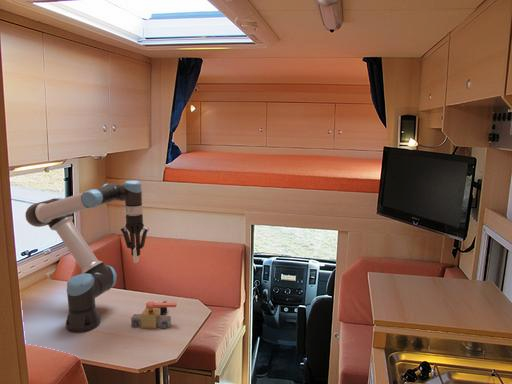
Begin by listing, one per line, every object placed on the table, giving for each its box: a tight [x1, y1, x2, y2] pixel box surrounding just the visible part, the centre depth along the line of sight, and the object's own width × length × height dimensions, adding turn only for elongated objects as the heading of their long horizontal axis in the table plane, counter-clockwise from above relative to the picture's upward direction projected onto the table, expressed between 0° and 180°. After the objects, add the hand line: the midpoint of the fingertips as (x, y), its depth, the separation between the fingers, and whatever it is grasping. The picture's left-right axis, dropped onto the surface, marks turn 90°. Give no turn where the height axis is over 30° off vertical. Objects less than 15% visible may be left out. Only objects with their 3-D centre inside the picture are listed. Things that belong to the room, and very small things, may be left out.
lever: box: [145, 301, 178, 309], centre depth 191 cm, size 14×4×2 cm, turn 93°
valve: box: [130, 307, 172, 330], centre depth 192 cm, size 18×7×9 cm, turn 86°
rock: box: [154, 300, 168, 316], centre depth 201 cm, size 9×10×6 cm
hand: (136, 261), depth 192 cm, fingers closed
